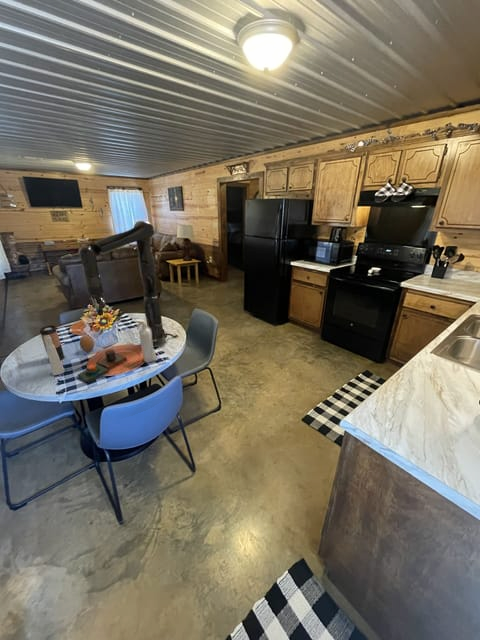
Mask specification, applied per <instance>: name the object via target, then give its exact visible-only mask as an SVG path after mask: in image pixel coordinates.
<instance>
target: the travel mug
mask: <svg viewBox="0 0 480 640" xmlns="http://www.w3.org/2000/svg"><path fill="white" fill-rule="evenodd" d="M39 334H40V337H41V339H42V342H43V346H44V349H45V352H46V354H47V355H48V353H47V349H46V343H45V340H44V338H45V337H44V336H45V335H50V337H51V340H52V343H53V345H54V346H55V348H56V351H57V353H58V356H59V359H60V361H62V360H64V359H65V355H64V350H63V347H62V346H63V345H62V342H61V339H60V337H59V333H58V329H57V326H56V325H45V326H43V327H40V329H39Z"/></svg>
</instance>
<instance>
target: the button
mask: <svg viewBox="0 0 480 640" xmlns="http://www.w3.org/2000/svg"><path fill="white" fill-rule="evenodd" d="M95 365H96V364H90V365H88V366H87V368H88V371H93V370H95V369H96V366H95Z"/></svg>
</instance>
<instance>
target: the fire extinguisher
mask: <svg viewBox="0 0 480 640" xmlns="http://www.w3.org/2000/svg"><path fill="white" fill-rule="evenodd" d="M134 323H136V324H137V326H136V329H137V331H138V335H139V339H140V340H139V341H140V346H141V353H142V359H143V362H145V363H150V362H151V363H152V362H153V361H155V362H156V361H158V360H159V358H158V356H157V355H156V353H155V349H154V347H153V342H152V331H151V328H149V327H148V326H147V322H146V319H139V318H137V319H134ZM148 328H149V329H148Z"/></svg>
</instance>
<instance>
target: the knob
mask: <svg viewBox="0 0 480 640" xmlns="http://www.w3.org/2000/svg"><path fill="white" fill-rule="evenodd" d="M115 353H116V350H115V349H106V351H104V355H105V357H106V360H107V361H108V362H111V361H114V360H116V355H115Z"/></svg>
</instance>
